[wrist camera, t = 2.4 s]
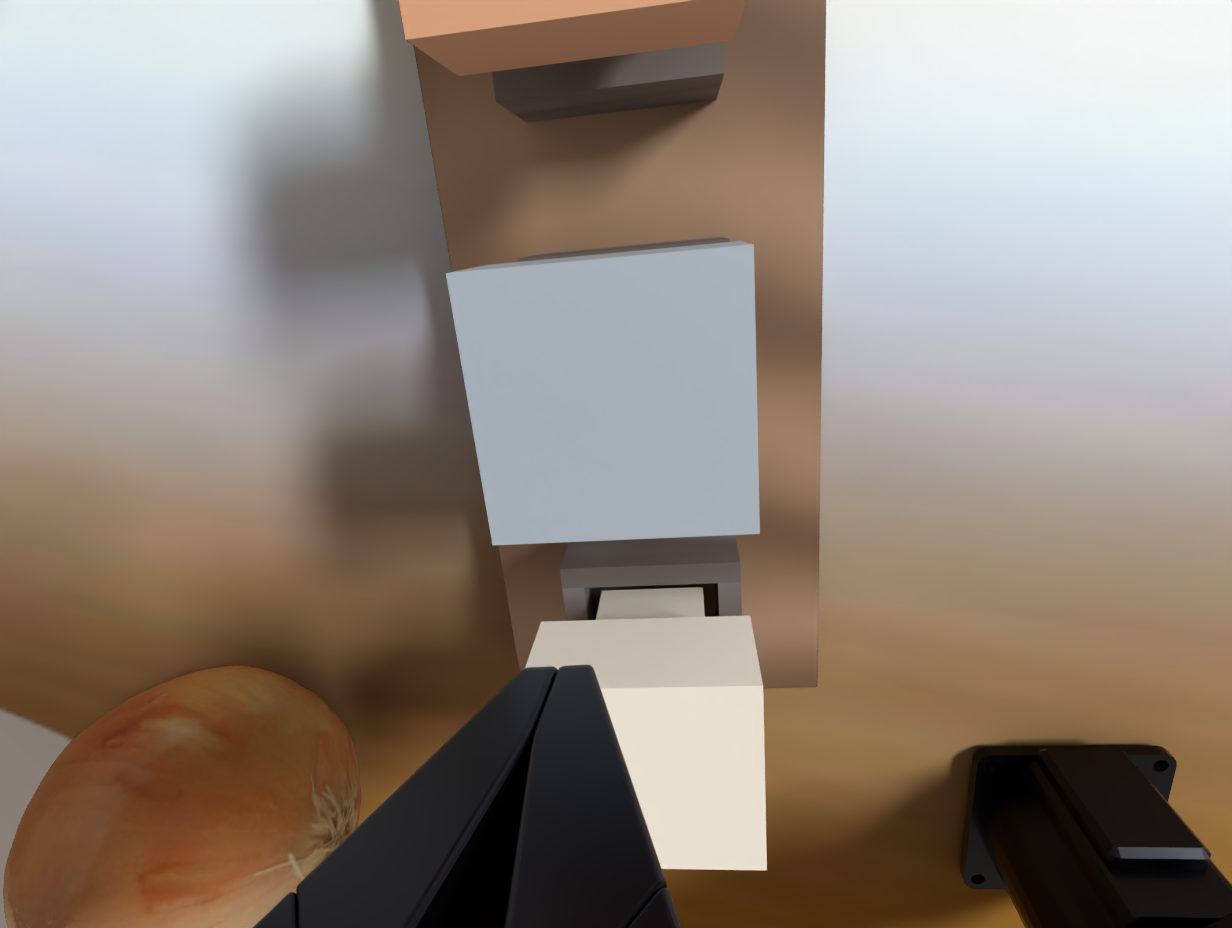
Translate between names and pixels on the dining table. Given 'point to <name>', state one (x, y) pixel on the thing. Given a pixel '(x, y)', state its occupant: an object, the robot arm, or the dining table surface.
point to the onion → (186, 808)
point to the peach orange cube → (559, 29)
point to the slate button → (613, 393)
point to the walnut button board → (663, 218)
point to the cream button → (679, 718)
